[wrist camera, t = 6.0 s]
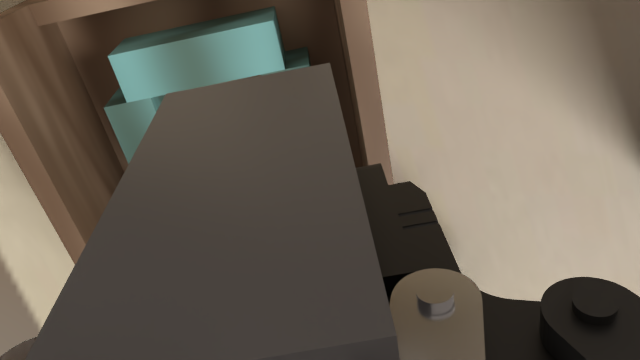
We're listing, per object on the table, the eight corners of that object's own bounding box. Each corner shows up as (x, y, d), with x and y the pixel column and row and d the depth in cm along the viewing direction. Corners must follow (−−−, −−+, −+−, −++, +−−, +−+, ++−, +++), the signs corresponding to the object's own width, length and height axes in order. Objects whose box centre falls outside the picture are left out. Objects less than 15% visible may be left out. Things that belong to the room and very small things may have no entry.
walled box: (340, -73, 26) (358, -52, 19) (383, 193, 34) (407, 275, 27) (34, -4, 27) (-53, 39, 20) (146, 240, 35) (111, 330, 28)
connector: (329, 62, 13) (417, 422, 5) (353, 201, 15) (444, 627, 7) (166, 93, 13) (-49, 500, 5) (212, 227, 15) (120, 676, 7)
